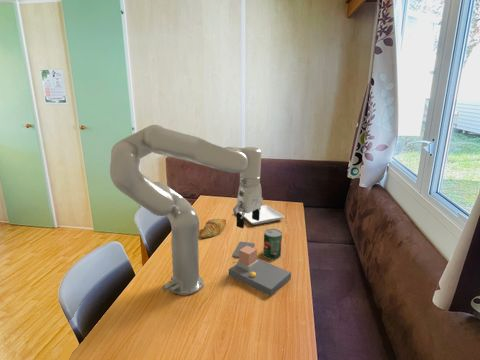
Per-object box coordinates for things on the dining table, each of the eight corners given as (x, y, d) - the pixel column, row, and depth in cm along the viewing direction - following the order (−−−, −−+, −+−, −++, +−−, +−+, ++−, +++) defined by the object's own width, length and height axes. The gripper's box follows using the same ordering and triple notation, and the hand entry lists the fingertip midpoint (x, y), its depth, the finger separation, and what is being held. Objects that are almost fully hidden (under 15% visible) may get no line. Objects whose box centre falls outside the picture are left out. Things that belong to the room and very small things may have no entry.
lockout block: (248, 265, 122) (249, 254, 120) (238, 261, 125) (239, 250, 123) (256, 260, 125) (256, 249, 124) (246, 256, 128) (246, 245, 127)
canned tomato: (284, 255, 139) (285, 233, 136) (272, 261, 134) (273, 238, 131) (271, 248, 145) (272, 227, 142) (259, 254, 140) (260, 231, 137)
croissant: (207, 247, 153) (213, 236, 149) (192, 234, 155) (197, 223, 152) (228, 230, 171) (234, 219, 167) (215, 219, 173) (220, 208, 169)
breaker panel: (270, 296, 111) (271, 284, 110) (228, 275, 123) (228, 264, 122) (290, 279, 122) (291, 268, 121) (250, 261, 134) (250, 251, 133)
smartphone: (255, 243, 149) (249, 258, 135) (255, 244, 150) (248, 260, 136) (239, 241, 151) (232, 256, 137) (239, 242, 151) (232, 258, 137)
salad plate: (235, 214, 185) (235, 209, 184) (266, 209, 194) (266, 204, 193) (251, 228, 167) (251, 222, 166) (285, 222, 176) (285, 216, 175)
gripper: (243, 187, 107) (241, 233, 111) (271, 178, 120) (268, 219, 124) (226, 183, 111) (225, 227, 116) (255, 174, 124) (253, 214, 129)
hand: (248, 223), depth 120 cm, fingers open, 9 cm apart
